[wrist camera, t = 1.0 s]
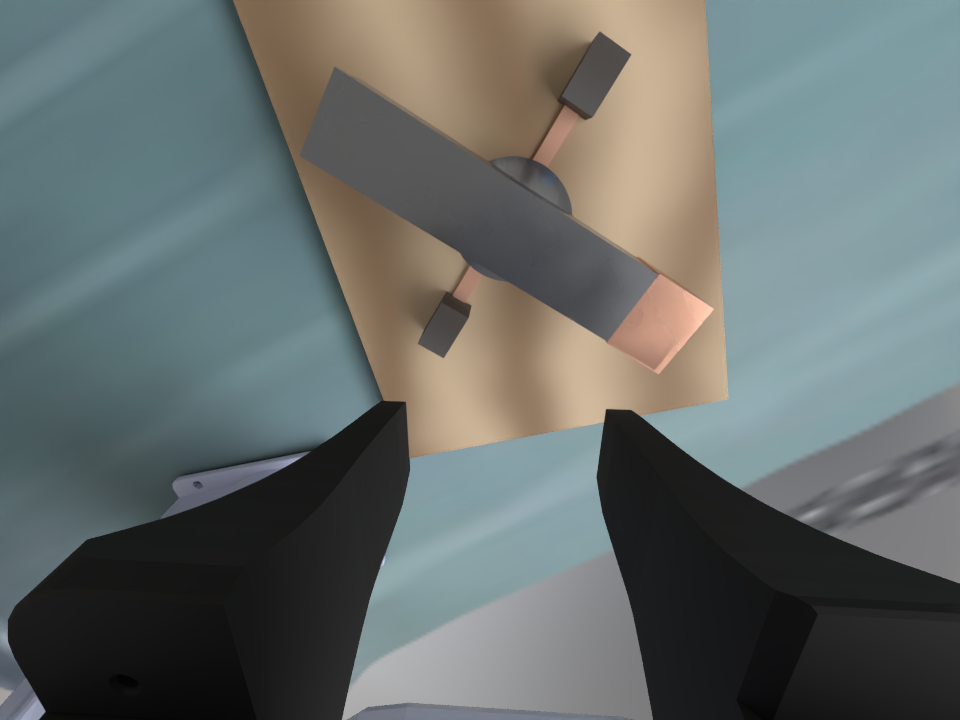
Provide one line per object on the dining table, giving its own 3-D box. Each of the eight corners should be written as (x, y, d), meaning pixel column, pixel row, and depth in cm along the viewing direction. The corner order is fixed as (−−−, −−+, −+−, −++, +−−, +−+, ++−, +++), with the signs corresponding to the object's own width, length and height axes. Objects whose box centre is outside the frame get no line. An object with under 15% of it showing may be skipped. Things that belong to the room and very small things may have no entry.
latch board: (409, 447, 24) (398, 479, 22) (234, -29, 16) (188, -59, 14) (719, 388, 22) (745, 417, 19) (680, -192, 14) (715, -261, 12)
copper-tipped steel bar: (333, 176, 17) (289, 183, 13) (383, 60, 15) (347, 33, 12) (618, 348, 19) (643, 392, 15) (687, 260, 17) (732, 287, 14)
